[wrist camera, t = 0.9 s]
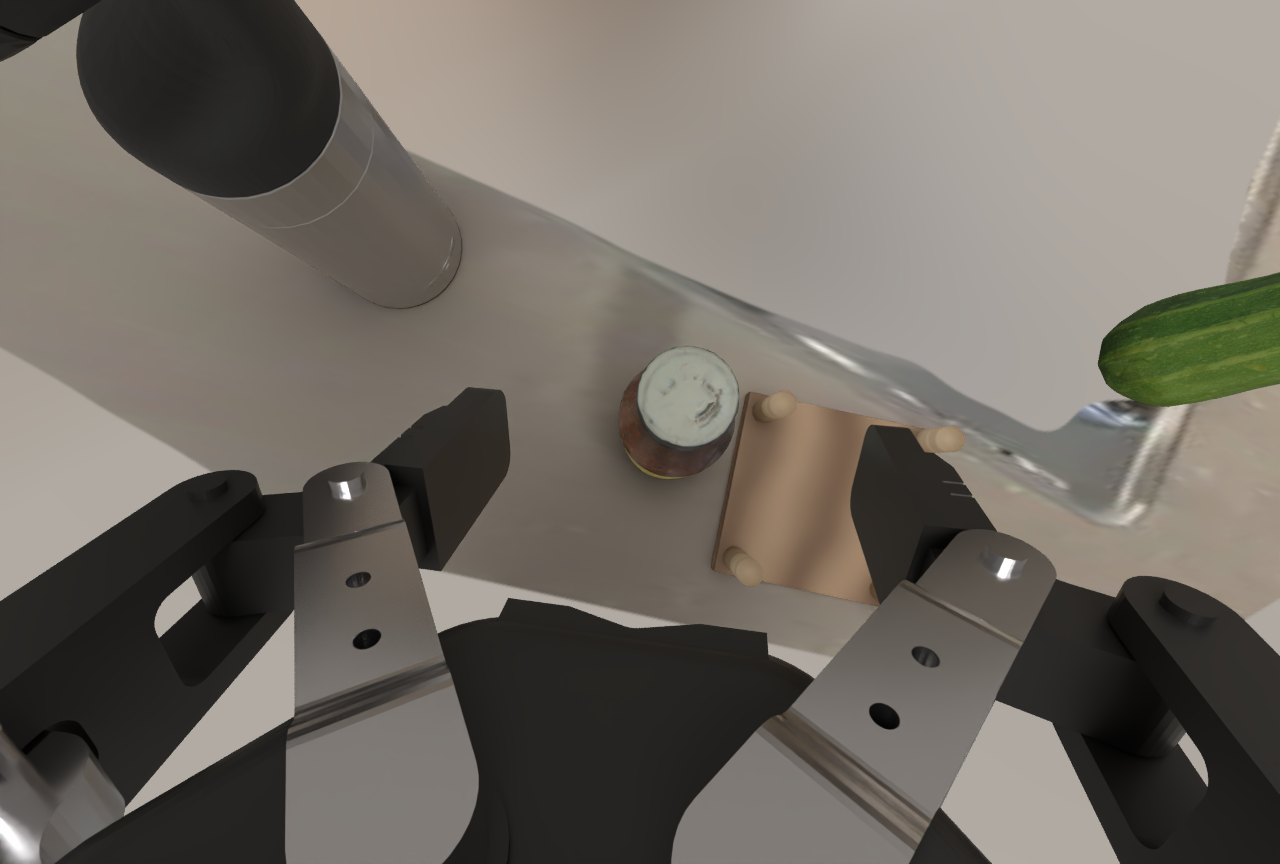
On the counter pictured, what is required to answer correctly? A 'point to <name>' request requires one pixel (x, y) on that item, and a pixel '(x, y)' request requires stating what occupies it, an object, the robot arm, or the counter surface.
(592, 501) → the counter surface
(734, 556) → the peg stand
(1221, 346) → the vegetable
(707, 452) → the sauce bottle
